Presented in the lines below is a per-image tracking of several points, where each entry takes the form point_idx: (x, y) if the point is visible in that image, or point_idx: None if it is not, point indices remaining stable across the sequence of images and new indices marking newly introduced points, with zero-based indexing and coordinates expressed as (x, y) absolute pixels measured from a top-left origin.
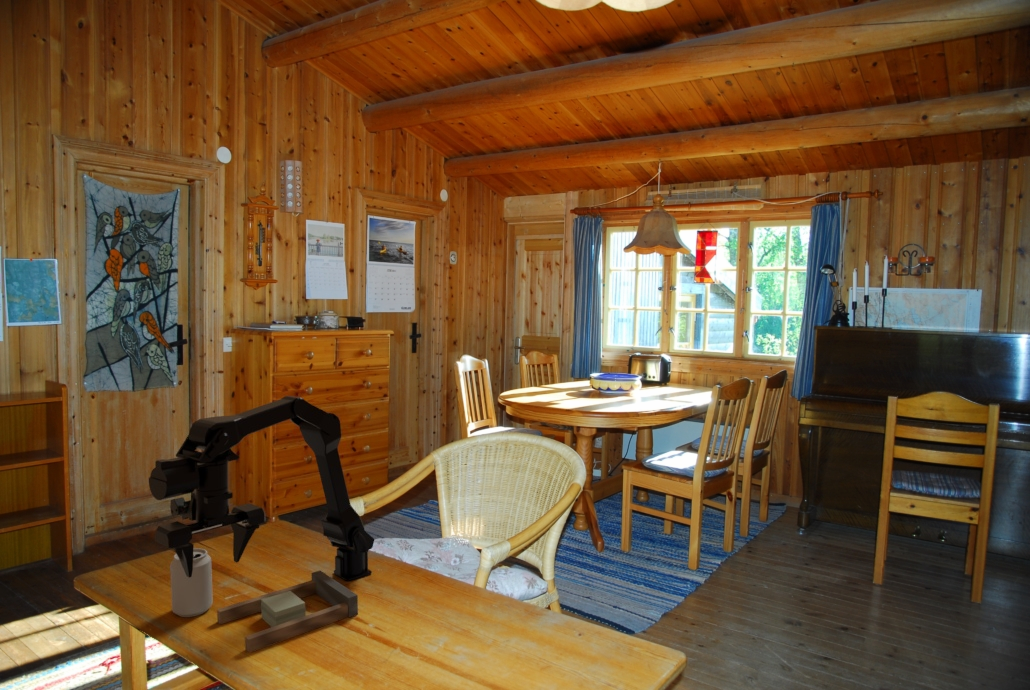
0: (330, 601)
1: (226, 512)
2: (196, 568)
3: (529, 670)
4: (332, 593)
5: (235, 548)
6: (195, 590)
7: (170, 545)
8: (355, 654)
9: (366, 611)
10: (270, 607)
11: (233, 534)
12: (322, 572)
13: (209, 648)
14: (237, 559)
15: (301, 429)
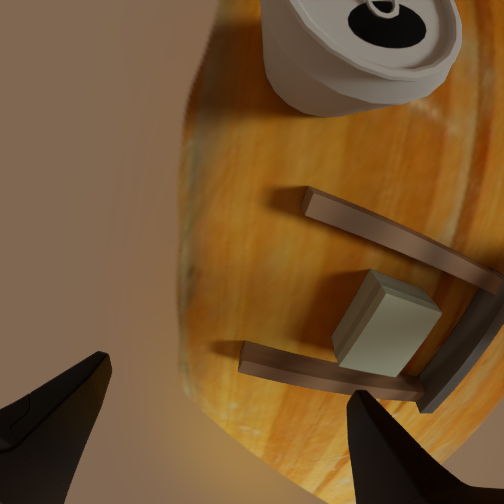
0: (450, 340)
1: None
2: (334, 93)
3: (341, 499)
4: (453, 359)
5: (372, 450)
6: (308, 101)
7: None
8: (314, 442)
9: None
10: (355, 343)
11: (418, 494)
12: None
13: (207, 277)
14: (347, 421)
15: None
